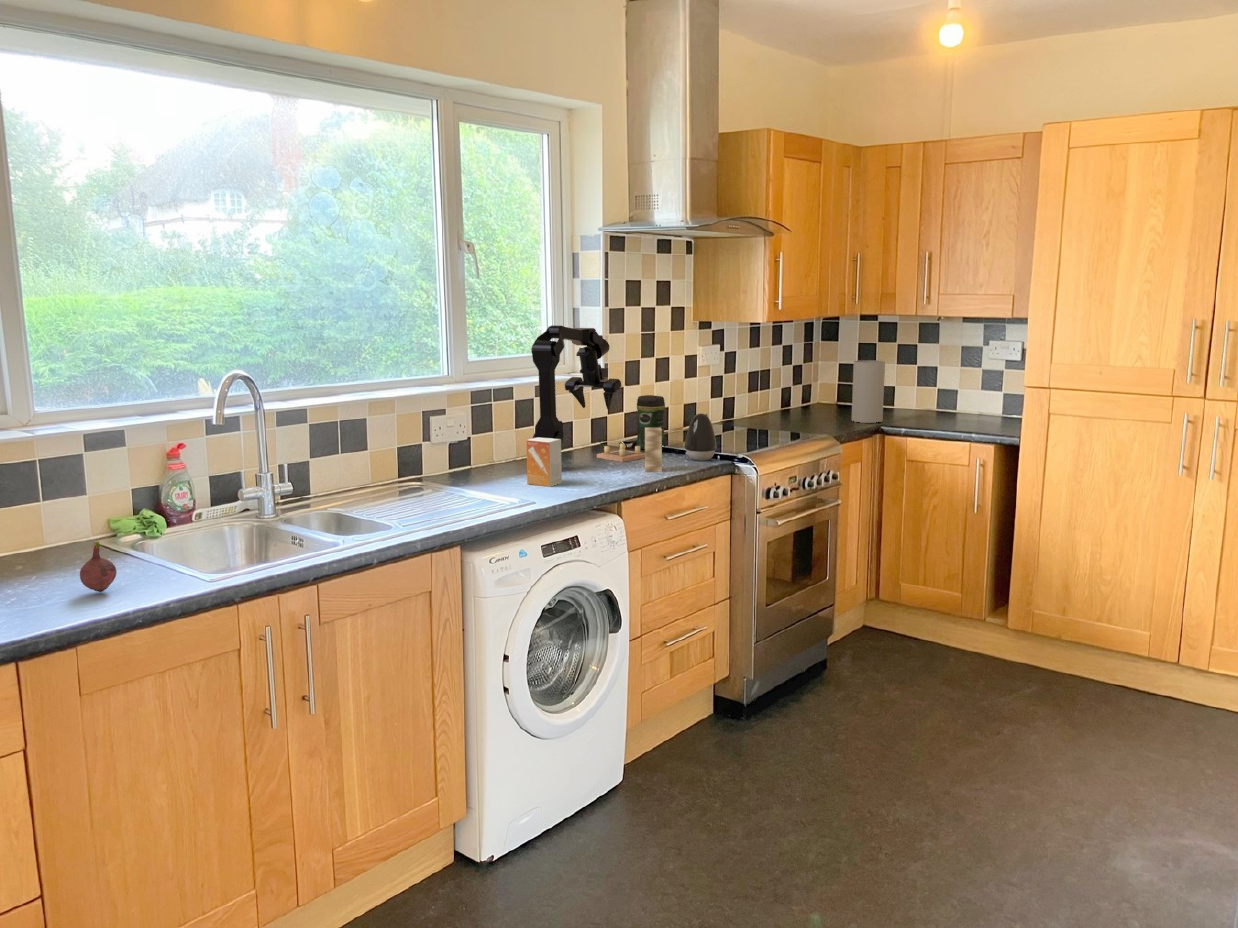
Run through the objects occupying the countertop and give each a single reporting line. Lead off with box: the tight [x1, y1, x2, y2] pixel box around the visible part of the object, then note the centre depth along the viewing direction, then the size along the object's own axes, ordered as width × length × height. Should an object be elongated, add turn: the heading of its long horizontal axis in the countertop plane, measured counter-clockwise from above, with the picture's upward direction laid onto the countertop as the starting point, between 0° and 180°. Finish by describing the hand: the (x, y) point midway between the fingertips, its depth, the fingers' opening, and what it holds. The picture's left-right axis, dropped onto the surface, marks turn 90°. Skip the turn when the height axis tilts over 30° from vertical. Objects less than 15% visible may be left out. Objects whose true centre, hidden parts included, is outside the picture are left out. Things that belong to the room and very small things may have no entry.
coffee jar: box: [636, 394, 666, 450], centre depth 339 cm, size 10×8×19 cm
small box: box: [526, 437, 563, 488], centre depth 279 cm, size 8×6×13 cm
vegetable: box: [79, 540, 118, 593], centre depth 180 cm, size 6×6×10 cm
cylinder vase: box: [851, 359, 886, 424], centre depth 401 cm, size 12×12×25 cm
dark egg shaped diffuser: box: [684, 412, 717, 462], centre depth 316 cm, size 10×10×15 cm
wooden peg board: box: [596, 443, 645, 463], centre depth 322 cm, size 12×12×4 cm
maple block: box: [644, 428, 663, 473], centre depth 298 cm, size 5×5×13 cm
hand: (596, 408), depth 326 cm, fingers open, 9 cm apart
